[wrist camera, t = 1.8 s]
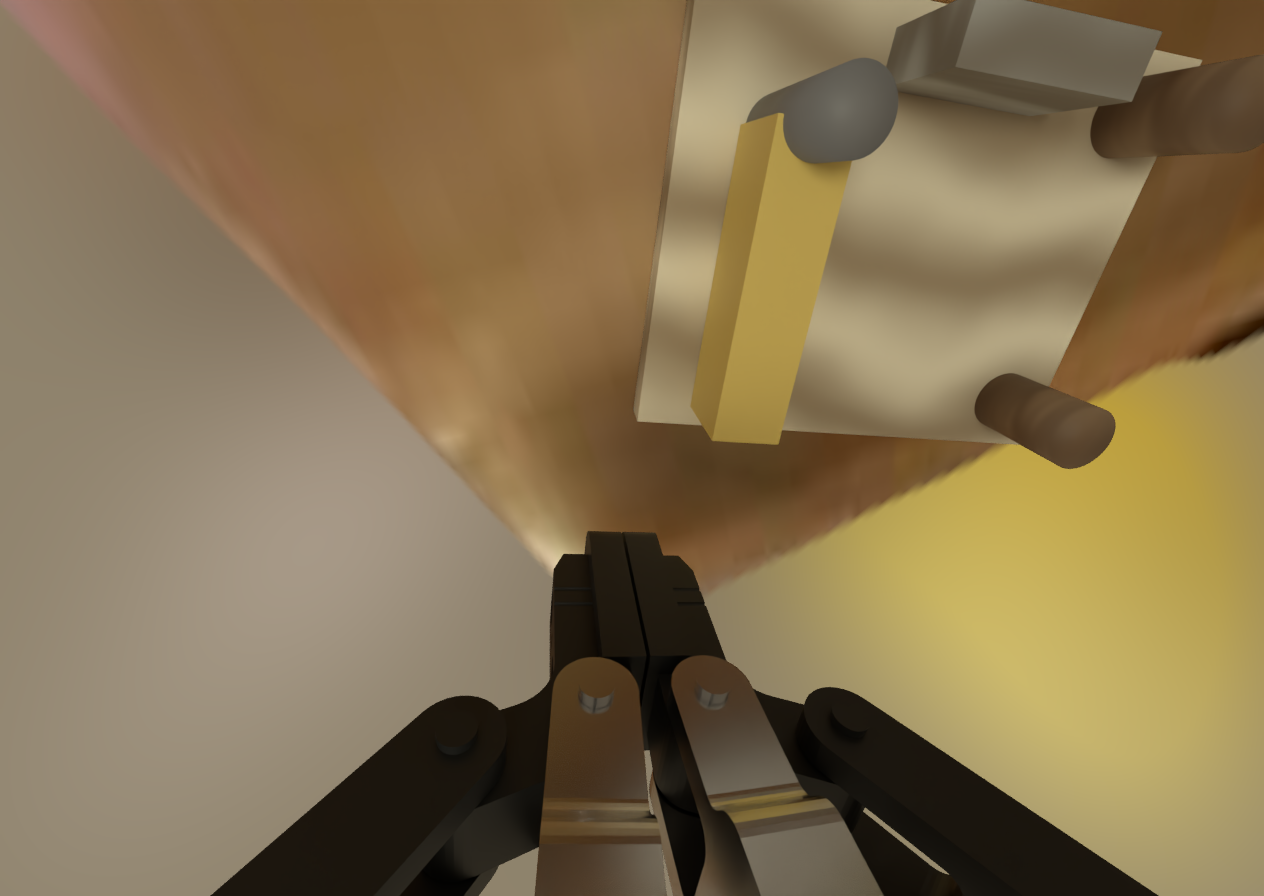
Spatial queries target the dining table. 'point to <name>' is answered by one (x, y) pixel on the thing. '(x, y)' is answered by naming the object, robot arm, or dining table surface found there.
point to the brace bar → (782, 241)
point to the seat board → (937, 205)
